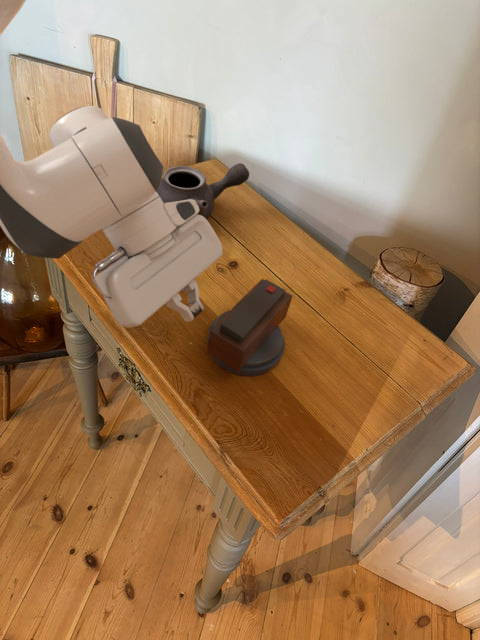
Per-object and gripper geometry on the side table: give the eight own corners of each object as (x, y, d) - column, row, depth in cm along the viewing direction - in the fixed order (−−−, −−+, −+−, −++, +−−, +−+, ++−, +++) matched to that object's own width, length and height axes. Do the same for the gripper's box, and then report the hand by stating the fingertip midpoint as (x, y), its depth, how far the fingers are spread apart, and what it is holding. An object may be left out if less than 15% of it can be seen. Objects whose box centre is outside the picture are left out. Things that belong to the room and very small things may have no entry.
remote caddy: (252, 386, 65) (262, 355, 60) (190, 347, 68) (194, 313, 63) (298, 329, 74) (310, 297, 68) (241, 296, 77) (249, 263, 72)
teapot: (170, 244, 86) (173, 198, 78) (142, 197, 94) (142, 151, 87) (257, 226, 93) (267, 183, 86) (224, 185, 102) (230, 142, 94)
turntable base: (191, 348, 70) (192, 342, 69) (234, 305, 78) (236, 299, 77) (257, 390, 67) (259, 384, 66) (295, 341, 74) (298, 335, 73)
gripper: (97, 265, 54) (161, 359, 58) (202, 195, 66) (247, 276, 71) (74, 275, 58) (134, 361, 63) (176, 208, 71) (220, 283, 75)
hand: (195, 315), depth 67 cm, fingers closed
